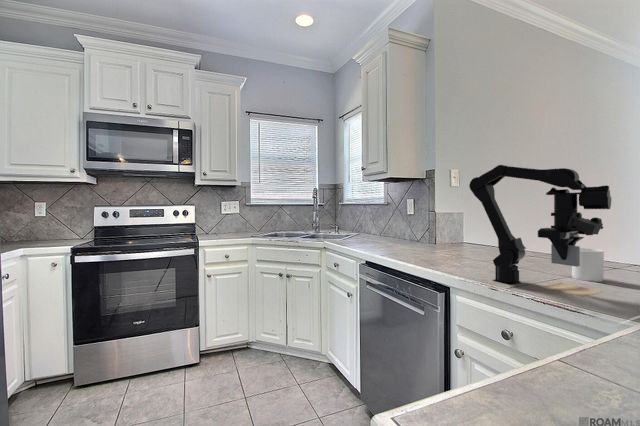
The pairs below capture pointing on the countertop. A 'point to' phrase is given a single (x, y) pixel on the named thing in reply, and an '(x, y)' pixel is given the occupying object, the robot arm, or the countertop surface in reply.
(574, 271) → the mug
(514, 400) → the countertop surface
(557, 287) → the cork mat
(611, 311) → the countertop surface
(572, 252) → the slate tile
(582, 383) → the countertop surface
